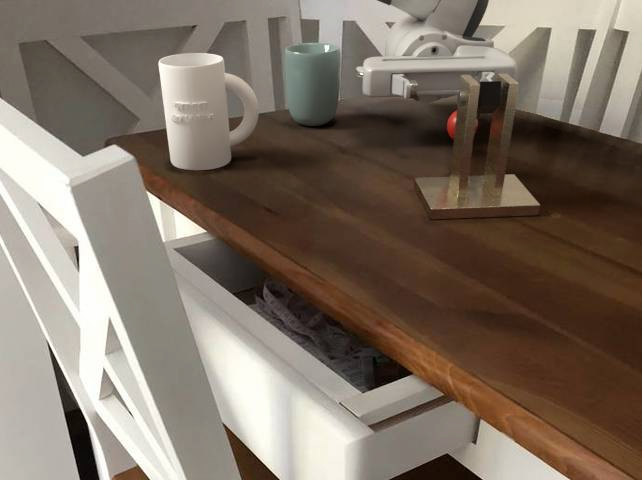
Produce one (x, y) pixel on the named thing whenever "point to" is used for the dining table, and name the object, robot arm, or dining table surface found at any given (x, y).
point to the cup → (312, 82)
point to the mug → (202, 110)
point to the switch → (481, 103)
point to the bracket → (494, 186)
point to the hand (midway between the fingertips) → (449, 90)
